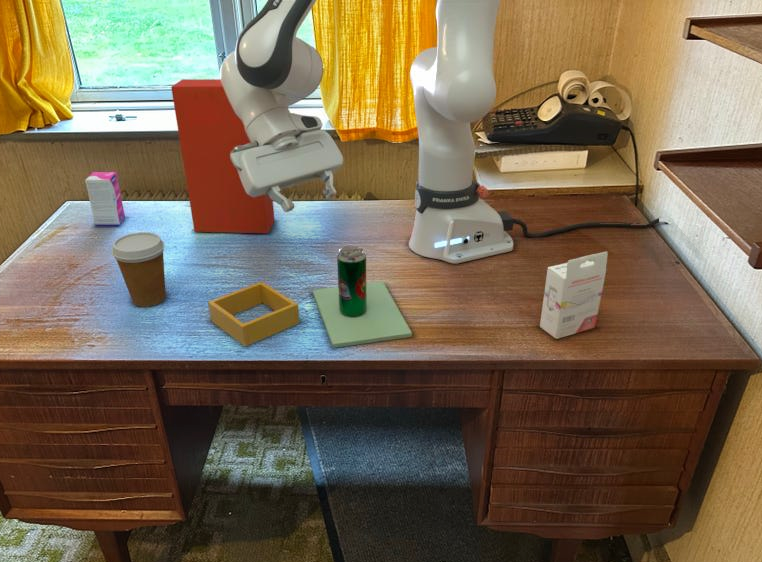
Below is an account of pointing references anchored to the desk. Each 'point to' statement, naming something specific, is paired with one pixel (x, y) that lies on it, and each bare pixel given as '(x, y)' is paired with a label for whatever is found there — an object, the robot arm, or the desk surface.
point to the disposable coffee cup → (142, 267)
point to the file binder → (215, 161)
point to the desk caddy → (259, 327)
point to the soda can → (352, 281)
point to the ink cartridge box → (573, 295)
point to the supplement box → (105, 199)
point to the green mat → (362, 317)
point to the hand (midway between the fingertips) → (311, 203)
